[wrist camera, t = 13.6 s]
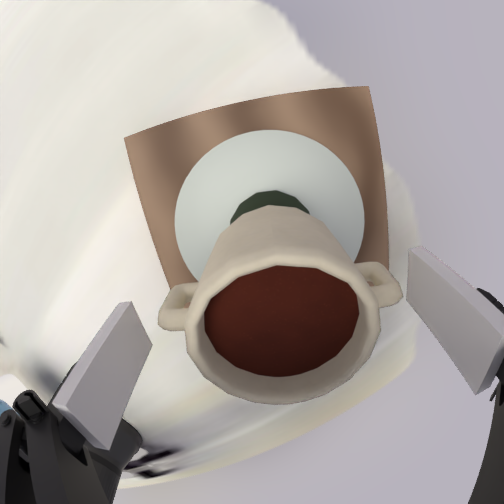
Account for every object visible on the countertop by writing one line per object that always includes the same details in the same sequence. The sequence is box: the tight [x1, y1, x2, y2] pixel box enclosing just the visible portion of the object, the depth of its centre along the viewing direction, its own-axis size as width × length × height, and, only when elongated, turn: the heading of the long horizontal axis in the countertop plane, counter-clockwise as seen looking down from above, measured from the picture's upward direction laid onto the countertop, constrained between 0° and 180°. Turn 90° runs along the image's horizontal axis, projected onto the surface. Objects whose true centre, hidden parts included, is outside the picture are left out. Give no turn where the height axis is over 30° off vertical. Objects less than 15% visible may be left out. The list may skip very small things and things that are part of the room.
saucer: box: [175, 130, 364, 282], centre depth 22 cm, size 15×15×1 cm
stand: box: [124, 86, 389, 308], centre depth 23 cm, size 20×20×2 cm
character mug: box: [158, 190, 403, 405], centre depth 15 cm, size 11×7×13 cm, turn 98°
